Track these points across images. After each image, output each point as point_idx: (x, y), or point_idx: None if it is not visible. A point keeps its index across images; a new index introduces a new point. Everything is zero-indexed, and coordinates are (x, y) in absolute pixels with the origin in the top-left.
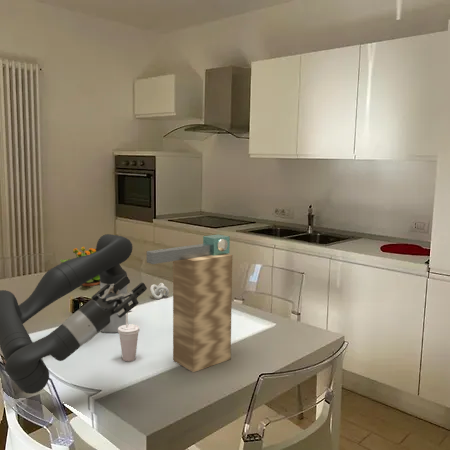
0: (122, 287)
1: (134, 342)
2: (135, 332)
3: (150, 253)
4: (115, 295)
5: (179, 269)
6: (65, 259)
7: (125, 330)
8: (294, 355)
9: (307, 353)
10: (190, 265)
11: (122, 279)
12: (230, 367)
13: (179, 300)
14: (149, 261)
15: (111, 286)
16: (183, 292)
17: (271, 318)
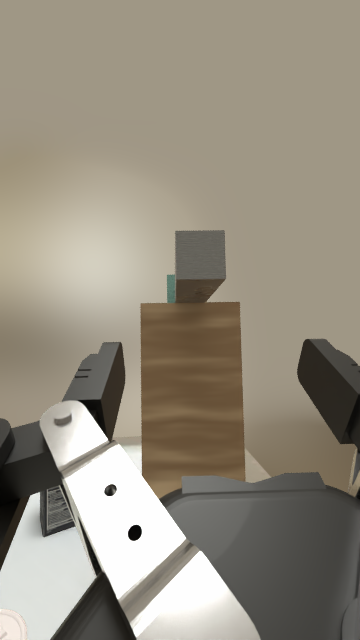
0: (114, 420)
1: None
2: None
3: (208, 235)
4: (288, 497)
5: (172, 339)
6: None
7: None
8: (256, 472)
9: (257, 463)
10: (223, 317)
11: (115, 360)
12: None
13: (174, 432)
14: (200, 271)
15: (69, 429)
16: (194, 402)
17: (134, 441)
